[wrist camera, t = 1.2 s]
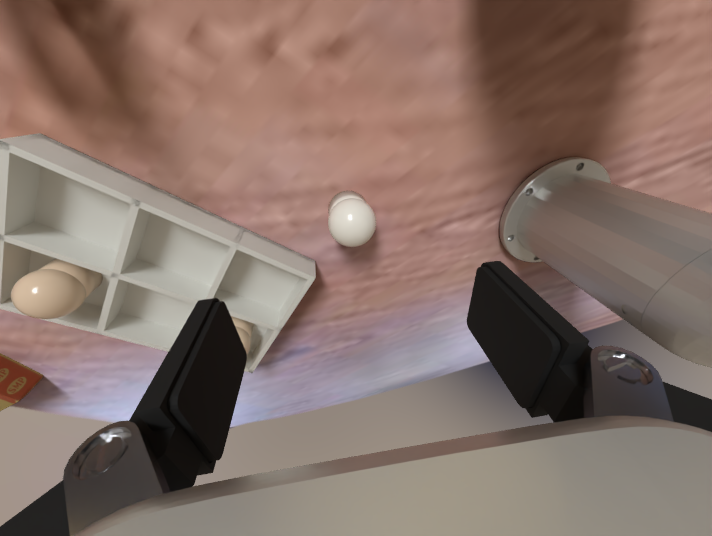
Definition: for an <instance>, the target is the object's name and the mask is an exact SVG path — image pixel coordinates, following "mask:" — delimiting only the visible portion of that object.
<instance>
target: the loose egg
mask: <svg viewBox="0 0 712 536" xmlns="http://www.w3.org/2000/svg"><path fill="white" fill-rule="evenodd" d="M328 213H329V218H328V227H329V231H330V233H331V235H332V237H333V238H334V239H335V240H336V241H337V242H338V243H340V244H341V245H344V246H347V247H357V246H361V245H363V244H365V243H366V242H367V241H368V240H370V238H371V237H372V236H373V234H374V232H375V229H376V217H375V214H374V211H373V210H372V208H371V207H370V206H369V205H368V204H367V203H366V201H365V199H364V198H363V196H361V195H360V194H359V193H357V192H354V191H343V192H340V193H338V194H337V195H335V196H334V197H333V198H332V200H331V202H330V204H329V208H328Z"/></svg>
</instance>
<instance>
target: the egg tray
mask: <svg viewBox="0 0 712 536" xmlns="http://www.w3.org/2000/svg"><path fill="white" fill-rule="evenodd" d="M54 259H59V260H62V261H65V262H69V263H72V264H75V265H78V266H81V267H84V268H87V269H90V270H93V271H96V272H99V273H101V274H102V278H103V280H102V283H101V285H100V286H99V287H98V288H96V289H95V290H94V291H93V292H92V293H91V294H90V295H89V296H88V297H86V298H85V300H84V302H83V303H82V305H81V306H80V307H79V308H78V309H77V310H75V311H74V312H72V313H70V314H68V315H66V316H63V317H59V318H54V319H42V320H46V321H50V322H54V323H58V324H62V325H66V326H70V327H74V328H77V329H81V330H85V331H89V332H93V333H97V334H101V335H105V336H109V337H113V338H117V339H121V340H124V341H128V342H132V343H136V344H140V345H144V346H148V347H152V348H156V349H160V350H164V351H168V352H169V350H170V349H171V347H172V345H173V344H174V342H175V340H176V338H177V337H178V335H179V333H180V331H181V330H182V328H183V326H184V324H185V323H186V321H187V319H188V317H189V316H190V314H191V312H192V310H193V309H194V307H195V305H196V303H197V302H198V301H199V300H204V299H212V298H218V299H219V301H224V302H225V304H226V306H227V309H228V311H229V313H230V316H233V317H236V318H239V319H242V320H245V321H248V322H251V323H254V327H253V332H252V336H251V347H250V350H249V353H248V354H247V361H246V366H245V369H244V371H246V372H250V373H253V371H254V370H255V368H256V367H257V365H258V364H259V362H260V361H261V359H262V358H263V356H264V355H265V353H266V352H267V350H268V349H269V347H270V346H271V344H272V343H273V341H274V340H275V338H276V337H277V335H278V334H279V332H280V331H281V329H282V328H283V326H284V325H285V323H286V322H287V320H288V319H289V317H290V316H291V314H292V313H293V311H294V310H295V308H296V307H297V305H298V304H299V302H300V301H301V299H302V298H303V296H304V295H305V293H306V292H307V290H308V289H309V287H310V286H311V284H312V283H313V281H314V280H315V278H316V272H315V261H314V260H312V259H310V258H308V257H306V256H304V255H301V254H299V253H297V252H295V251H293V250H291V249H288V248H286V247H284V246H282V245H280V244H278V243H275V242H273V241H271V240H269V239H267V238H265V237H263V236H260V235H258V234H256V233H254V232H252V231H250V230H247V229H245V228H243V227H241V226H239V225H237V224H235V223H232V222H230V221H228V220H226V219H224V218H222V217H219V216H217V215H215V214H213V213H211V212H209V211H206V210H204V209H202V208H200V207H198V206H196V205H194V204H191V203H189V202H187V201H185V200H183V199H181V198H178V197H176V196H174V195H172V194H170V193H168V192H165V191H163V190H161V189H159V188H157V187H155V186H153V185H150V184H148V183H146V182H144V181H142V180H140V179H137V178H135V177H133V176H131V175H129V174H127V173H125V172H122V171H120V170H118V169H116V168H114V167H112V166H109V165H107V164H105V163H103V162H101V161H99V160H96V159H94V158H92V157H90V156H88V155H86V154H84V153H81V152H79V151H77V150H75V149H73V148H71V147H68V146H66V145H64V144H62V143H60V142H58V141H55V140H53V139H51V138H49V137H47V136H45V135H43V134H40V133H39V134H32V135H25V136H18V137H12V138H5V139H0V309H3V310H7V311H11V312H15V313H19V314H23V313H21V312H20V311H19V310H18V309H17V308H16V307H15V306H14V304H13V303H12V299H11V291H12V288H13V286H14V285H15V283H16V282H17V281H18V280H19V279H21V278H22V277H23V276H25V275H27V274H29V273H31V272H34V271H37V270H39V269H41V268H42V267H44V266H45V265H47V264H48V263H50V262H51V261H53V260H54ZM23 315H25V314H23Z"/></svg>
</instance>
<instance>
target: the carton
mask: <svg viewBox="0 0 712 536" xmlns="http://www.w3.org/2000/svg"><path fill="white" fill-rule="evenodd" d="M42 377H43V375H42V374H40V373H38V372H36V371H34V370H32V369H30V368H29V367H26V366H24V365H23V364H20V363H19V362H17V361H15V360H13V359H11V358H9V357H7V356H5V355H3V354H0V411H1V410H3V409H5V408H7V407H9V406H11V405H13V404H15V403H17V402H19V401H20V400H21V399H23V398H24V397H25V396H26V395H27V394H28V393H29V392H30V391H31V390H32V389H33V387H34V386H35V385H36V384H37V383H38V382H39V381H40V380H41V379H42Z"/></svg>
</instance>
